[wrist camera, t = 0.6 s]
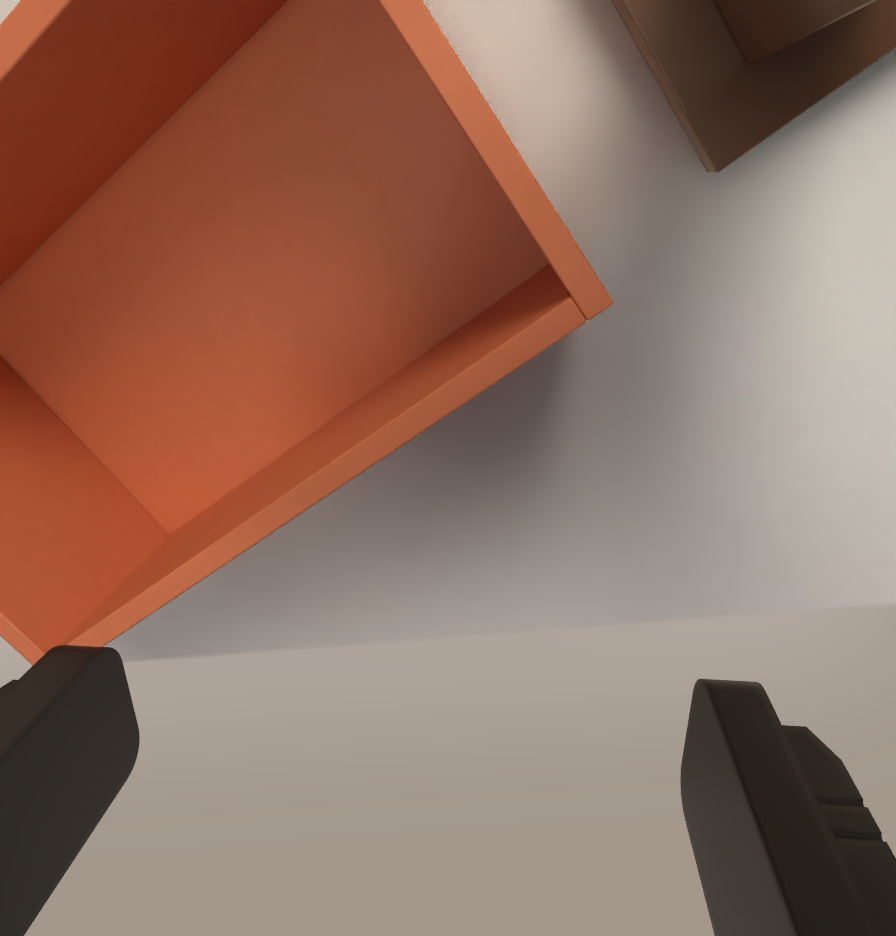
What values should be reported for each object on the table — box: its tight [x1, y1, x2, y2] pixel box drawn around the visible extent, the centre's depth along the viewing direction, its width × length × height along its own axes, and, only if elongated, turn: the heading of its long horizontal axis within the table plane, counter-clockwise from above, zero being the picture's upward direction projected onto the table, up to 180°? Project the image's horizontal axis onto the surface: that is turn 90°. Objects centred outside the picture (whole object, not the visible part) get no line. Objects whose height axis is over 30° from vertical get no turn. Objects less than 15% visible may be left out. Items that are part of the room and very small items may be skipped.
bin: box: [0, 0, 613, 665], centre depth 21 cm, size 20×12×9 cm, turn 126°
